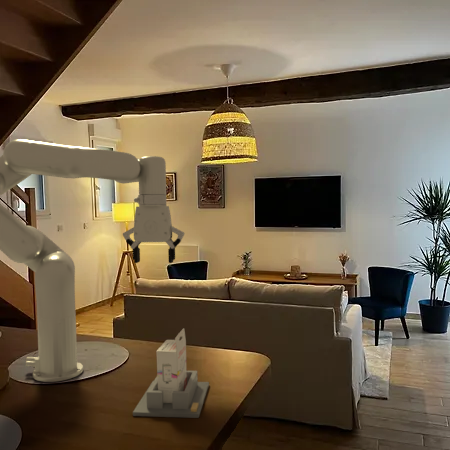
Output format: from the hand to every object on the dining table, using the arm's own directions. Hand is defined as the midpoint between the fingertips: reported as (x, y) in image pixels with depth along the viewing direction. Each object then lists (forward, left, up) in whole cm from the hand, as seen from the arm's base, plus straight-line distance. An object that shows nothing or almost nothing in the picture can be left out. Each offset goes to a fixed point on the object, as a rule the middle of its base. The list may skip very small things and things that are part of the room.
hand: (154, 262), depth 127 cm
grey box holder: (+10, -24, -28) cm, 38 cm away
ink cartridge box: (+10, -24, -28) cm, 38 cm away
